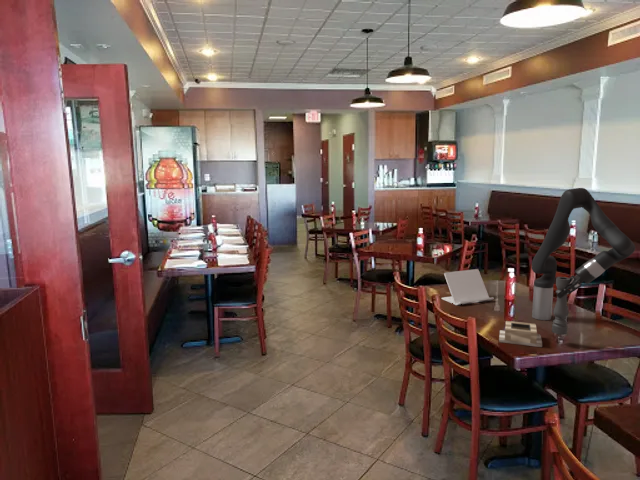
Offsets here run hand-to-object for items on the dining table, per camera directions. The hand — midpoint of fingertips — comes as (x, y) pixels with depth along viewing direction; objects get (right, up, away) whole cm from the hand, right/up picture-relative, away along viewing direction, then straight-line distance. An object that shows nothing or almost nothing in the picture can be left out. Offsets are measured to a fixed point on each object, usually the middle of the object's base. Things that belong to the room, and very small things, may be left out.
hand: (557, 294), depth 213 cm
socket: (-13, -22, +9) cm, 27 cm away
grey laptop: (-18, -12, +73) cm, 76 cm away
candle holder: (+2, -17, +2) cm, 18 cm away
